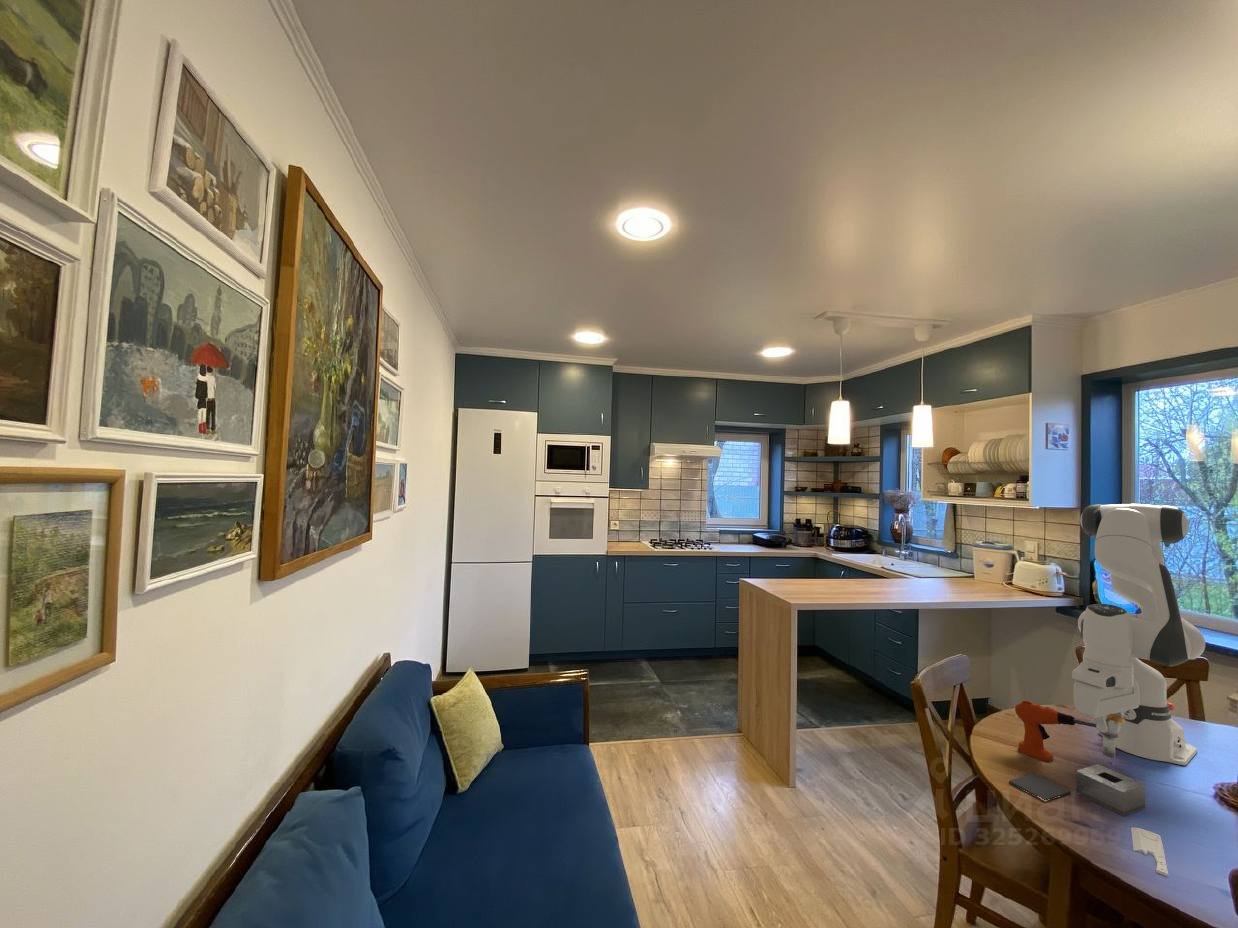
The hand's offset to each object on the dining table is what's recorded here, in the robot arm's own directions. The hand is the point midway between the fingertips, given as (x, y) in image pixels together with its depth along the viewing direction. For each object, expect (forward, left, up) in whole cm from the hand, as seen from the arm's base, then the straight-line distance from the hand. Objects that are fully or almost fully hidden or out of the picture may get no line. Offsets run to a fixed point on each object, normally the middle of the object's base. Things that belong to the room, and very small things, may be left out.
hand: (1108, 729), depth 121 cm
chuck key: (0, 0, -6) cm, 6 cm away
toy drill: (-7, -15, -17) cm, 24 cm away
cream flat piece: (+13, +12, -18) cm, 25 cm away
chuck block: (0, 0, -17) cm, 17 cm away
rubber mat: (+11, -9, -17) cm, 22 cm away
